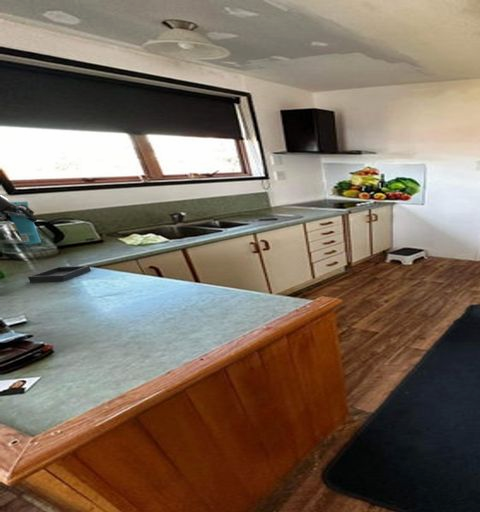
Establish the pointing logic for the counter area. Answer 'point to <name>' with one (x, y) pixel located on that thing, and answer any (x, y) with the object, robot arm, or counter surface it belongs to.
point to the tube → (25, 226)
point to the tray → (59, 274)
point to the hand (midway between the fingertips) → (26, 220)
